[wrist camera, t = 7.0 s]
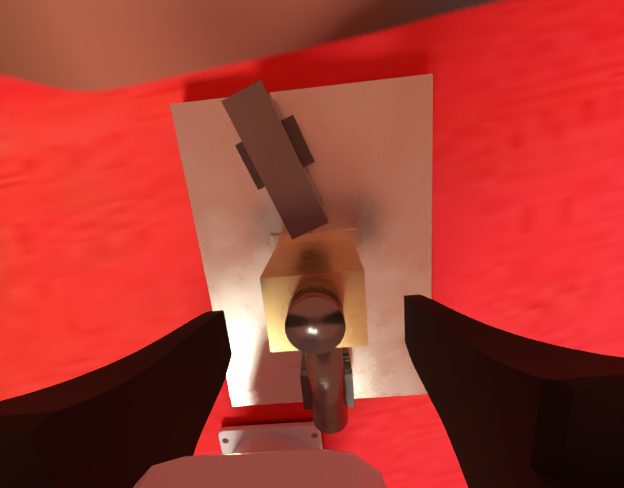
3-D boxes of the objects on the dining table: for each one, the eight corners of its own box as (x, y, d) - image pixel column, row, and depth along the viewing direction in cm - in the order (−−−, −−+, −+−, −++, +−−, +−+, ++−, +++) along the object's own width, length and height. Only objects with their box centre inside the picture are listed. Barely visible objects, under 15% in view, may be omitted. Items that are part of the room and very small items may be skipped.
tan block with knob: (354, 294, 18) (373, 363, 12) (284, 299, 18) (266, 370, 12) (350, 238, 17) (369, 281, 11) (277, 244, 18) (253, 290, 11)
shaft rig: (423, 378, 22) (449, 433, 17) (238, 390, 22) (218, 446, 18) (422, 81, 17) (461, 51, 12) (182, 109, 17) (135, 89, 13)
